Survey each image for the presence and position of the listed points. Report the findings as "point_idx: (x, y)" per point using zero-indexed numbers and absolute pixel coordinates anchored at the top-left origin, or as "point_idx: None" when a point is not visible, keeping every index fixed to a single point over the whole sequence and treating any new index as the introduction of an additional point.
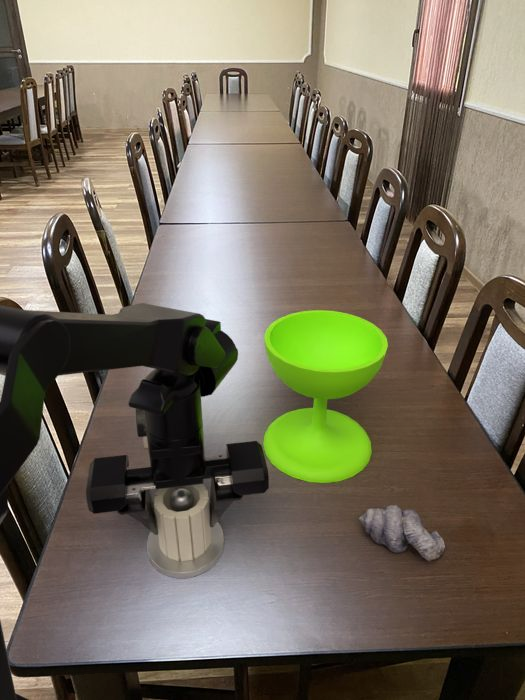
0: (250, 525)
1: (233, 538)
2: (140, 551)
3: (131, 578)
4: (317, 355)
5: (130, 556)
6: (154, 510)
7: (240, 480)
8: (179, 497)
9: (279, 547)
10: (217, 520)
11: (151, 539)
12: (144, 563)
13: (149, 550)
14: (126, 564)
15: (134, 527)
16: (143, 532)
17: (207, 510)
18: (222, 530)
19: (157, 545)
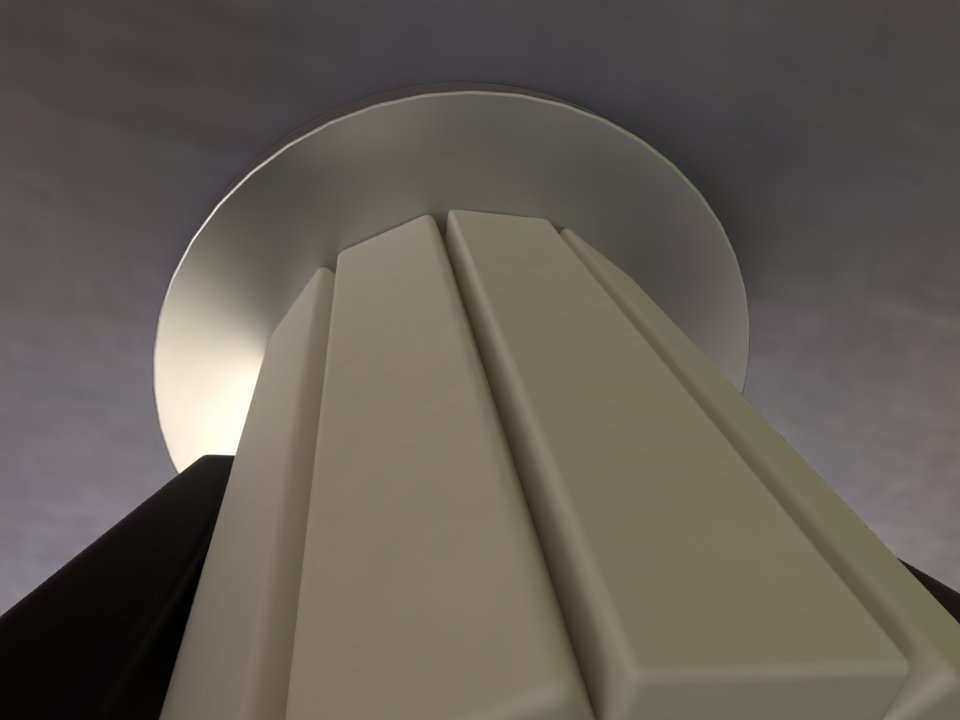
0: (915, 316)
1: (768, 387)
2: (111, 351)
3: (73, 529)
4: None
5: (33, 377)
6: (159, 654)
7: None
8: None
9: (954, 490)
10: None
11: (190, 348)
12: (154, 448)
13: (179, 447)
14: (13, 433)
15: (11, 81)
16: (116, 169)
17: None
18: (743, 386)
19: (244, 410)
